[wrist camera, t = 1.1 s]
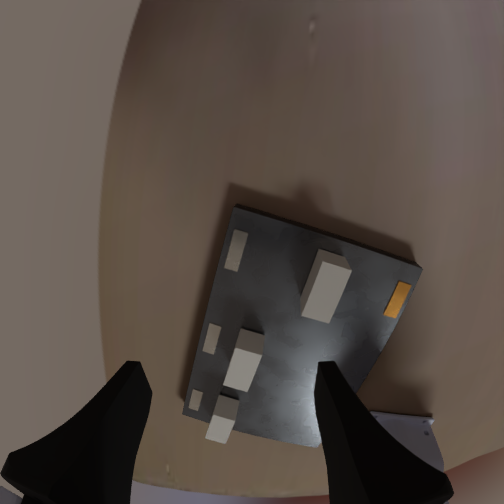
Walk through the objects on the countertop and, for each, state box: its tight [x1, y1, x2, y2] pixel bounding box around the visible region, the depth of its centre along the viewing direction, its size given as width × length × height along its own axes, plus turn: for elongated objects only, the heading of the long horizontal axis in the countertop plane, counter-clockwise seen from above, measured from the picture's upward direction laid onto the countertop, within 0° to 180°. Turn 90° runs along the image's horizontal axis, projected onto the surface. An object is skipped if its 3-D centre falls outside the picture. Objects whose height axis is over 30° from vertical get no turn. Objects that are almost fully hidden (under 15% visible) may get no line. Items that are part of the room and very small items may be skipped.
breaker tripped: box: [300, 249, 352, 323], centre depth 21 cm, size 2×4×3 cm, turn 164°
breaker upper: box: [205, 395, 240, 444], centre depth 26 cm, size 2×4×3 cm, turn 164°
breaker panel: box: [182, 204, 423, 447], centre depth 25 cm, size 15×22×2 cm
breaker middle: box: [223, 329, 265, 392], centre depth 23 cm, size 2×4×3 cm, turn 164°
